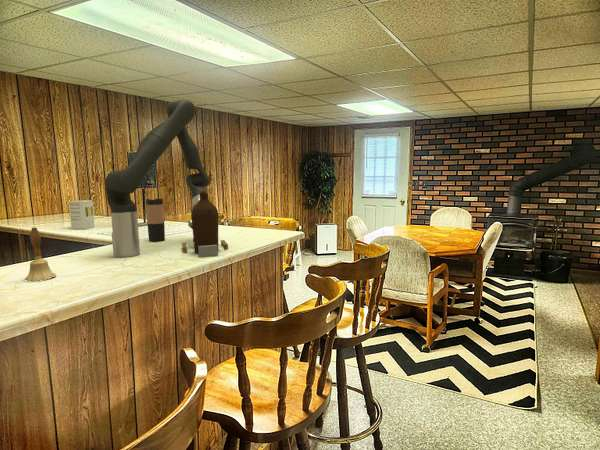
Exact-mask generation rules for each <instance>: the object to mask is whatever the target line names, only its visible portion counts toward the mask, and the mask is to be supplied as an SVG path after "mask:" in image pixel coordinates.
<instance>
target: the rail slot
mask: <svg viewBox="0 0 600 450" xmlns="http://www.w3.org/2000/svg"><path fill="white" fill-rule="evenodd" d="M220 245H221V248H223V250H225V251H226V250H229V244H228V243H227V241H226V240H224V239H223V240H220ZM181 247H182V248H181V249H182V253H183V254H186V253H188V248H187V242H181Z"/></svg>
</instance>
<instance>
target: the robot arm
mask: <svg viewBox="0 0 600 450" xmlns="http://www.w3.org/2000/svg"><path fill="white" fill-rule="evenodd" d="M166 113H167V117H168V118H166V119H165V120H164V121H162V122H161V123H159V124H157V126H155V127H154V128H152V129H150V131H149V132H148V133H146V135H145V136H144V137H143V139H142V140H140V142H139V144H138V147H137V150H136V154H135V157H134V158H133V159H132V160H131V162H130V163H128V165H127V166H126V167H125V168H124V169H121V170H119V169H117V170H112V171H110V172H109V173H107V176H106V178H105V192H106V198H107V199H106V200H107V204H108V207H109V209H110V217H111V219H110V220H111V228H112V232H111V242H112V252H113V253H112V255H113V257H114V258H127V257H128V258H129V257H135V256H138V255H140V254H141V249H140V246H141V245H140V237H139V235H140V234H139V223H138V222H139V221H138V219H139V218H138V211H137V210H138V209H137V207H138V206H137V204H136V203H135V202H134V201H133V200H132V198H131V194H133V193H135V191H137V190H138V188H139V187H140V185H141V183H142V182H143V180H144V179H145V177H146V175H147V174H148V172H149V171H150V170H151V169H152V167H153V166H154V165H155V164H156V162H157V161H158V160H159V158H160V157H161V156H162V155H163V154H164V153H165V152H166V150H167V149H168V148H169V146H170V145H171V143H172V142H174V140H175V139H177V140H178V143H179V146H180V149H181V152H182V157H183V158H184V159H183V160H184V163H185V166H186V169H188V170H196V171H198V172H196V173H190V174H188V175H187V176H186V178H185V183H186V185H187V187H188V189H189V191H190V193H191V208H192V209H193V207H194V206H195V205H196V204H197V203H198V201H199V200H200V196H199V194H200V190H207V189H206V188H207V187H208V186H209V185H210V183H211V182H210V181H211V180H210V176H209V174H208V173H207V171H206V169H205V168H204V166H203V163H202V159H201V156H200V152H199V149H198V147H197V145H196V143H195V142H194V140H193V138H192V137H191V136H190V134H189V132H188V130H187V127H186V126H187V125H188V124H190V122H191V121H193V119H194V117H195V114H196V108H195V105H194V102H193V101H190V100H188V99H179V100H174V101H170V102H169V103H168V104H167V106H166ZM192 209H191V210H192ZM187 224H188V225H187V226H188V227H189V228H190V229H192V220H188V222H187Z"/></svg>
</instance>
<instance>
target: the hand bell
mask: <svg viewBox="0 0 600 450" xmlns="http://www.w3.org/2000/svg"><path fill="white" fill-rule="evenodd" d="M29 239H30V243H31V245H32V247H33V255H34V259H33V260H32V261H31V262H30V263H29V271H28V274H27V276H26V277H25V278H24V280H27V281H39V282H41V281H40V280H45V279H49V278H52V277H54V276H56V275H57V274H56V273H54V272H53V271H52V269H51V268H50V266H49V263H48V260H46V259H43V258H42V253H41V244H42V243H41V241H42V240H41V239H42V238H41V235H40V231H39V230H38V228H37V227H36V226H35V227H31V229H30V235H29ZM56 277H57V276H56ZM52 279H53V278H52ZM49 280H50V279H49ZM45 281H46V280H45Z"/></svg>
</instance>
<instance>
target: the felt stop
mask: <svg viewBox="0 0 600 450" xmlns="http://www.w3.org/2000/svg"><path fill="white" fill-rule="evenodd" d="M218 249H219V245H218V246H217V245H206V246H198V251H199V254H198V258H208V257H209V258H211V257H218V256H219V250H218Z"/></svg>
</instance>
